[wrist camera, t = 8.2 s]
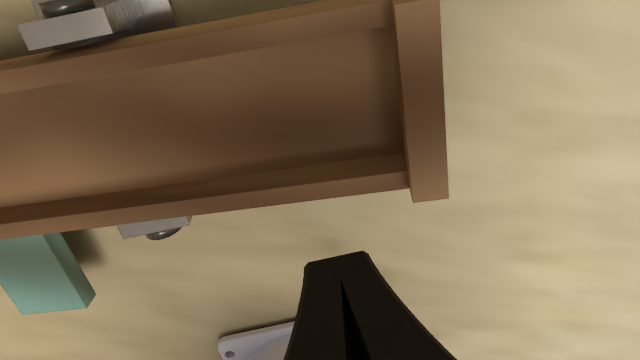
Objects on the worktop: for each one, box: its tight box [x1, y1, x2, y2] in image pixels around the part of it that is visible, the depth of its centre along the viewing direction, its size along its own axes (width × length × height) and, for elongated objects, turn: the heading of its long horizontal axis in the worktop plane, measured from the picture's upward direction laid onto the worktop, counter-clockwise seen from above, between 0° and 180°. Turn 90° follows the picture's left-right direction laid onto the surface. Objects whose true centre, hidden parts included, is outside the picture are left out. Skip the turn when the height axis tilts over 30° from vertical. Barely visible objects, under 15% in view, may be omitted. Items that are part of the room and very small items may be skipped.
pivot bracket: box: [16, 0, 192, 240], centre depth 16 cm, size 9×4×4 cm, turn 10°
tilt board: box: [0, 0, 449, 315], centre depth 15 cm, size 10×20×3 cm, turn 100°
